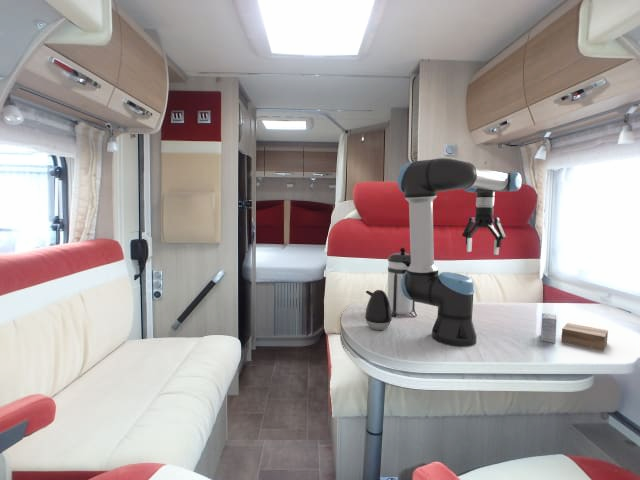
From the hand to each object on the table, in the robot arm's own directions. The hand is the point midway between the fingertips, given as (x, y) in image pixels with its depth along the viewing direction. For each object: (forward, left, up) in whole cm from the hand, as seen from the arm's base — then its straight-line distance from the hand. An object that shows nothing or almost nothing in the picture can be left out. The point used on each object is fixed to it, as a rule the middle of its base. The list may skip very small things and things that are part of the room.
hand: (482, 253), depth 164 cm
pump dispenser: (-56, +18, -28) cm, 65 cm away
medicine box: (-20, -32, -28) cm, 46 cm away
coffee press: (-31, +24, -28) cm, 48 cm away
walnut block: (-14, -42, -28) cm, 52 cm away
